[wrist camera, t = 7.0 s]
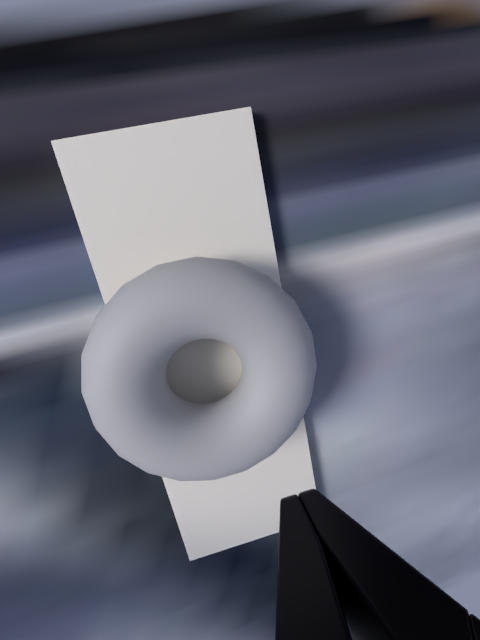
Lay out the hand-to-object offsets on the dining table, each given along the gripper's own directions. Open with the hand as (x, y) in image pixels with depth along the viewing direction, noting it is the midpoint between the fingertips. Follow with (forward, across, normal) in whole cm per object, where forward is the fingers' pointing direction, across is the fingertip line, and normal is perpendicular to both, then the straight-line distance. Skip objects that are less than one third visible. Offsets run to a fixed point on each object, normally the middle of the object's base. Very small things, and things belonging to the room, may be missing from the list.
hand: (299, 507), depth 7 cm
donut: (+7, +7, 0) cm, 10 cm away
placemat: (+10, +1, 0) cm, 10 cm away
